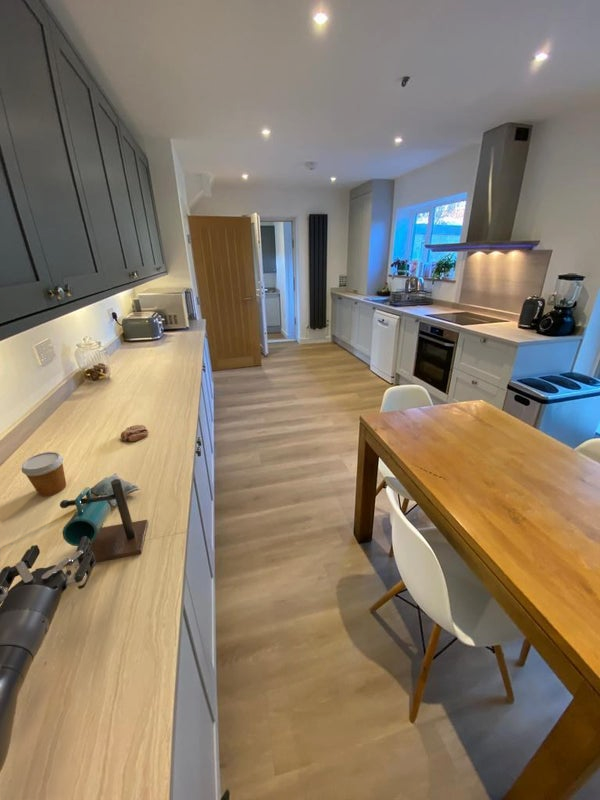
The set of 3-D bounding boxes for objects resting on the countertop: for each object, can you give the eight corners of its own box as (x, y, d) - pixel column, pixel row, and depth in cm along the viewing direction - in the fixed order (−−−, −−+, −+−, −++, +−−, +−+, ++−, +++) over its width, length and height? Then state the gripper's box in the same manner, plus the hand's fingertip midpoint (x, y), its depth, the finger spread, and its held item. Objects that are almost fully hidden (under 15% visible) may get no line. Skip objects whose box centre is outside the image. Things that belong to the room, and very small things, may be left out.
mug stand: (148, 522, 86) (134, 466, 78) (141, 553, 77) (125, 493, 69) (84, 534, 82) (63, 476, 75) (69, 567, 73) (44, 506, 66)
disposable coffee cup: (79, 491, 97) (67, 457, 92) (42, 509, 90) (27, 474, 85) (65, 479, 102) (53, 447, 97) (29, 496, 95) (14, 462, 90)
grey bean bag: (118, 480, 102) (114, 467, 99) (141, 493, 96) (138, 480, 94) (89, 496, 95) (85, 483, 93) (113, 512, 89) (108, 498, 87)
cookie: (149, 427, 133) (147, 420, 132) (148, 439, 124) (147, 432, 123) (122, 431, 130) (120, 425, 128) (119, 444, 121) (118, 437, 119)
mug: (112, 519, 82) (99, 543, 72) (83, 524, 80) (65, 549, 71) (105, 480, 80) (90, 499, 70) (75, 484, 78) (55, 505, 69)
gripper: (65, 600, 49) (97, 522, 63) (-50, 625, 46) (11, 536, 60) (79, 630, 52) (106, 549, 66) (-28, 656, 49) (25, 565, 63)
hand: (61, 543), depth 63 cm, fingers open, 8 cm apart
